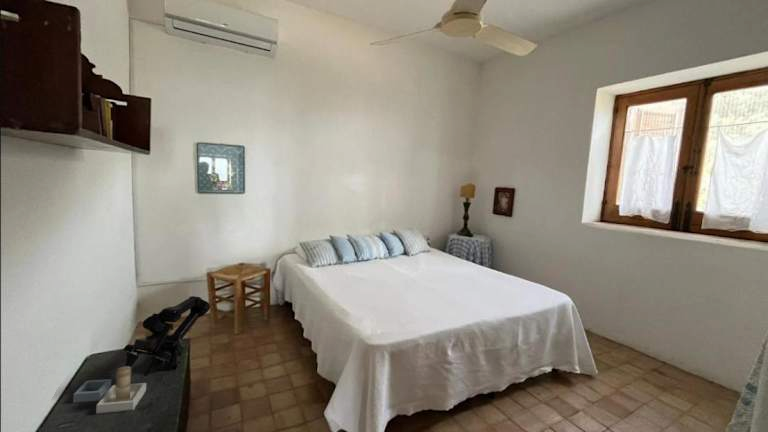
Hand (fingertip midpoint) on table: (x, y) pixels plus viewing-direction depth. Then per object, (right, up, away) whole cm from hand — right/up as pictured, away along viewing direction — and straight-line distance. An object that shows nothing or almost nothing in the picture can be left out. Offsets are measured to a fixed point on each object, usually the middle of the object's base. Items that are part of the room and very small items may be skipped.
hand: (134, 374), depth 128 cm
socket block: (-15, -7, -2) cm, 17 cm away
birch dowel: (-1, -8, -4) cm, 9 cm away
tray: (-2, -9, -4) cm, 10 cm away
